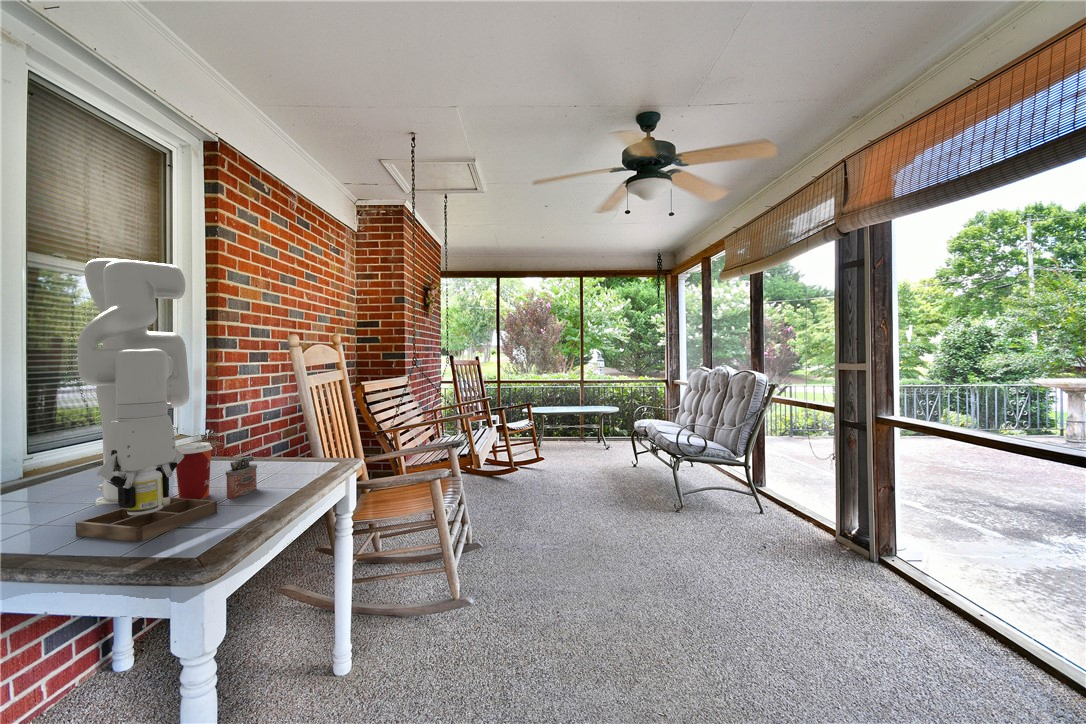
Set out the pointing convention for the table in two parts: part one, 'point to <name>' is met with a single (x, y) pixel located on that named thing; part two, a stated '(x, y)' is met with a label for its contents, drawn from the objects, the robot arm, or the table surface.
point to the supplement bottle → (147, 491)
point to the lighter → (241, 477)
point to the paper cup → (194, 470)
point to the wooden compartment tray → (145, 520)
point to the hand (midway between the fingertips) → (144, 501)
